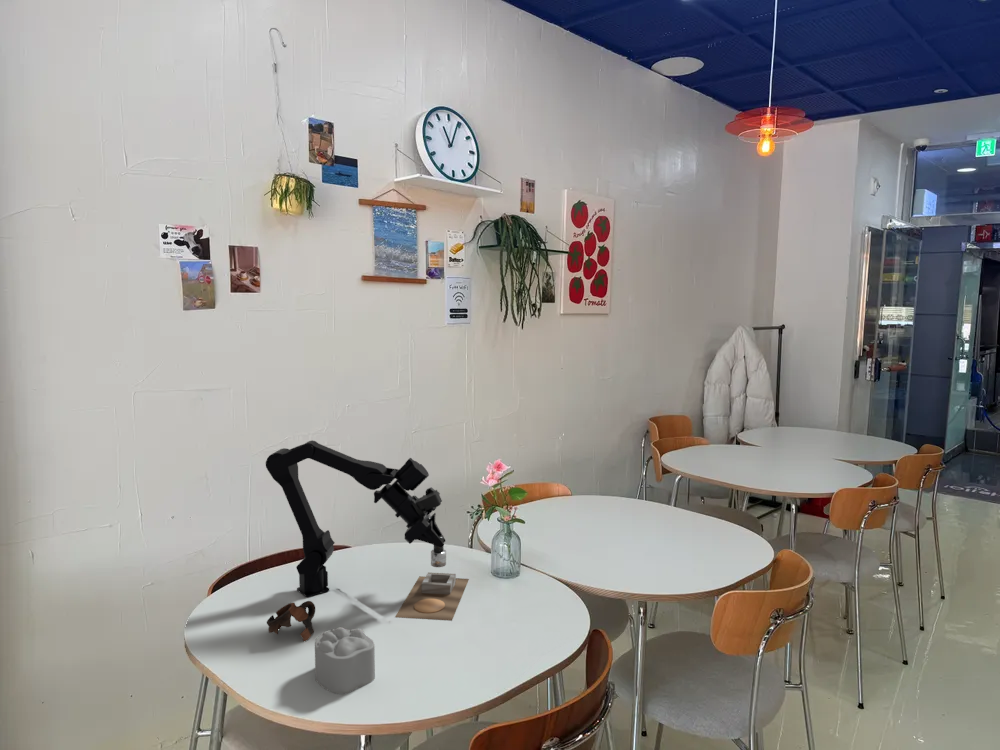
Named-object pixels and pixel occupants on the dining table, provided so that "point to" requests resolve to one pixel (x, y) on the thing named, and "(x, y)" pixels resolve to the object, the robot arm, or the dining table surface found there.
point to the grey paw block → (344, 660)
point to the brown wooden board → (433, 597)
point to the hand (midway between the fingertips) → (443, 544)
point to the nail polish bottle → (438, 555)
